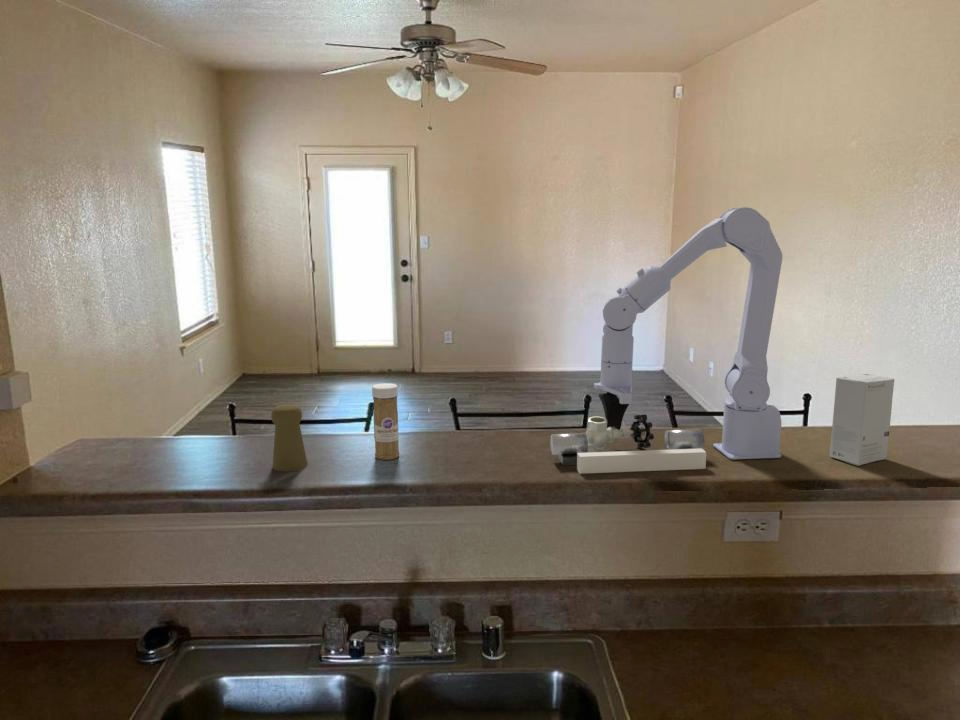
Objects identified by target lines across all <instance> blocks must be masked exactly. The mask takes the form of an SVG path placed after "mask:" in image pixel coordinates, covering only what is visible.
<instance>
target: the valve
mask: <svg viewBox="0 0 960 720" xmlns="http://www.w3.org/2000/svg"><path fill="white" fill-rule="evenodd" d="M633 419H634V420H636V421H633V422H632V423H631V424H630V428H628V427H627V428H620V430H618V429H616V428H615V427H614V426H613V427H608V428H607V419H606V418H605V417H603V416H598V415H597V416H591V417H588V419H587V420H588V421H587V422H588V423H587V429H586V431H585V433H586V435H587V439H588V451H587V453H590V452H606V445H607V444H608V443H609V444H613V443H617V442H618V441H619V439H628V438H630V437H631V438H632V439H633V441H634V442H635V443H637V448H638V449H642V448H643V449H649V448H650V447H651V446H652V444H651V442H650V441H652V440H654V438H655V436H654V434H653V433H651V429H652V428H653V423H652V421H649V422H648V421H647V420H648V416H647V414H645V413H644V414H634V416H633ZM641 424H642V425H643V426H640V425H641ZM643 436H645V437H644V438H643Z"/></svg>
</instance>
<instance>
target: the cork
mask: <svg viewBox="0 0 960 720" xmlns="http://www.w3.org/2000/svg"><path fill="white" fill-rule="evenodd" d="M270 416H271V417H270V418H271V421H272V423H273V424H274V427H275V428H274V439H273V440H274V442H273V453H272V454H273V455H272V469H273V470H275V471H277V472H287V473H288V472H295V471H299V470H302V469H304V468H307V466H308V464H309V463H308V459H307V455H306V454H307V453H306V450H305V444H304V440H303V434H302V430H301V423H300V422H301V421H302V419H303V418H302V417H303V411H302V409H301V408H300V406H299V405H297V404H291V403H287V404H280V405H277V406H275V407H274V408H273V409H272V411H271V415H270Z"/></svg>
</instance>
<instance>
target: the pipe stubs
mask: <svg viewBox="0 0 960 720" xmlns="http://www.w3.org/2000/svg"><path fill="white" fill-rule="evenodd" d="M663 439H664V446H665V448H666V449H665V450H672V449H700V448H702V449H704V445H705V435H704V432H703V431H702V429H700V428H695V429H672V430H671V429H666V430H665V432H664V438H663ZM550 450H551V451H550V452H551V455H554V456H555V455H557V457H558V460H559V461H560V463H561V464H562V466H577V453H587V451H588V439H587V435H586V432H578V433H577V432H576V433H575V432H574V433H573V432H572V433H553V434H550Z"/></svg>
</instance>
